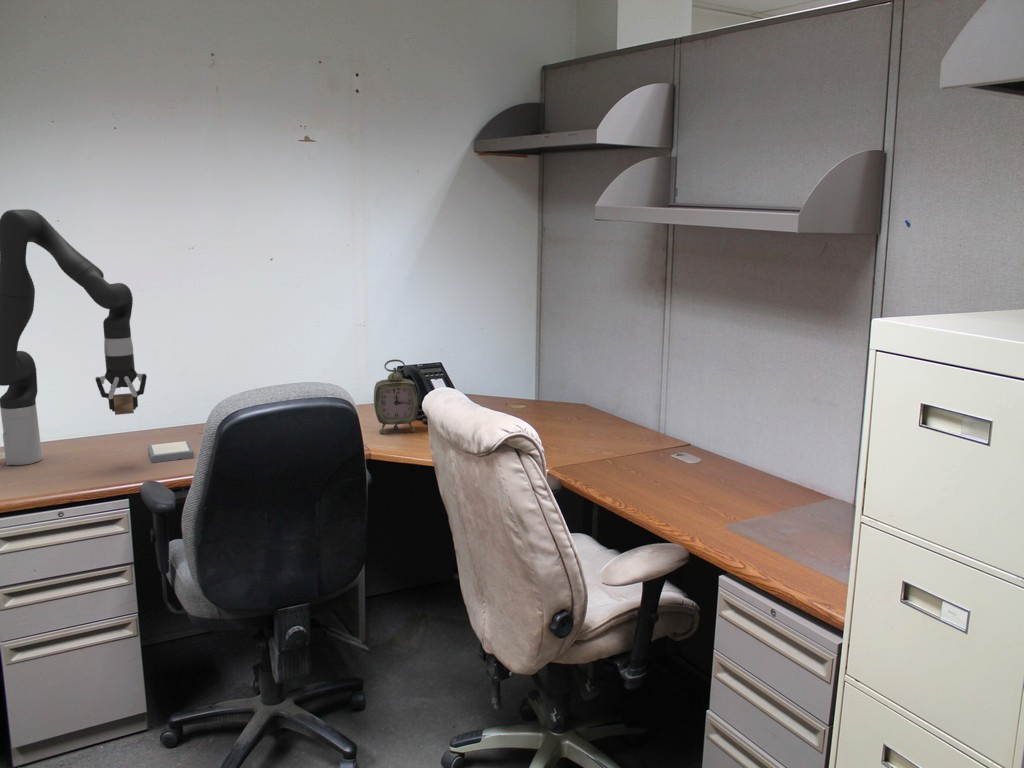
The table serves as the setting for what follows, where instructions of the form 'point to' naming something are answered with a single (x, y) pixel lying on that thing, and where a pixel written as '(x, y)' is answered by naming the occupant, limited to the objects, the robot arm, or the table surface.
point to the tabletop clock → (395, 400)
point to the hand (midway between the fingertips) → (124, 409)
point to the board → (170, 451)
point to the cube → (123, 403)
